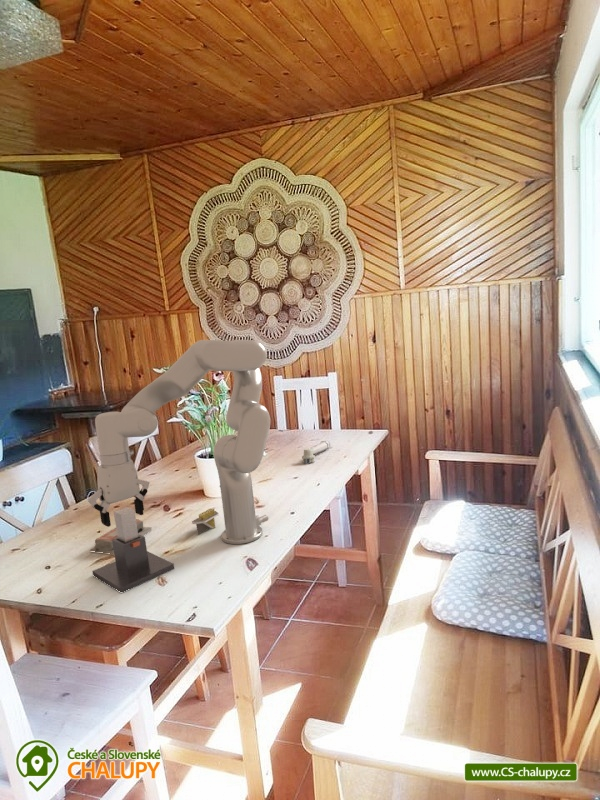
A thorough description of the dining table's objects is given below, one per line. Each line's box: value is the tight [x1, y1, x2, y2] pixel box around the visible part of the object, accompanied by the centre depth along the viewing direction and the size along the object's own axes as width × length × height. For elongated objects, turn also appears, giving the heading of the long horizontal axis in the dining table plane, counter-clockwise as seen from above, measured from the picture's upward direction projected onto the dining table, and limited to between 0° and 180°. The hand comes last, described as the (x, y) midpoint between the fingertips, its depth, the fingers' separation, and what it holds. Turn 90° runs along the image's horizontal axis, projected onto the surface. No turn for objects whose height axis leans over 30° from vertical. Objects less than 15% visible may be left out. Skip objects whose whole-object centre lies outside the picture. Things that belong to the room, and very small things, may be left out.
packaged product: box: [89, 518, 152, 555], centre depth 181 cm, size 18×5×10 cm
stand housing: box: [92, 534, 175, 593], centre depth 158 cm, size 16×16×10 cm
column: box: [113, 506, 139, 544], centre depth 157 cm, size 4×4×16 cm
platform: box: [191, 508, 219, 536], centre depth 183 cm, size 12×18×7 cm, turn 148°
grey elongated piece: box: [301, 440, 331, 464], centre depth 255 cm, size 5×7×25 cm
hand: (123, 519), depth 156 cm, fingers open, 9 cm apart
